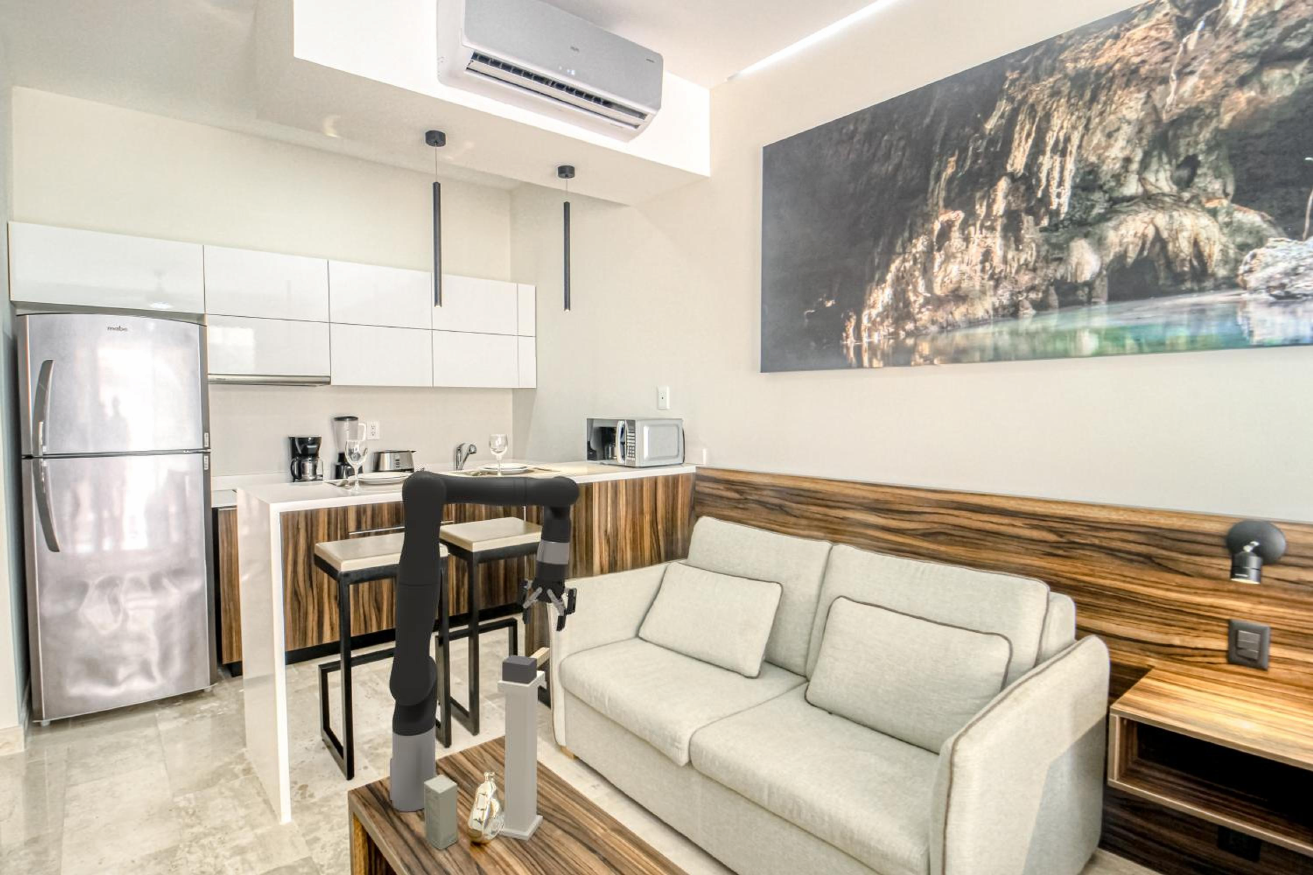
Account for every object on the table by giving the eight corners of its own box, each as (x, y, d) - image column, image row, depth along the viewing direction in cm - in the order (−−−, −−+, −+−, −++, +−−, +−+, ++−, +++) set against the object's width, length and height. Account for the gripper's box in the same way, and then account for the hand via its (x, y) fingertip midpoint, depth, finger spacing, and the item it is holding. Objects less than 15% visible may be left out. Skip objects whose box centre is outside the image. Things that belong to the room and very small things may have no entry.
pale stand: (526, 841, 138) (528, 686, 136) (496, 835, 139) (497, 682, 138) (543, 818, 145) (545, 671, 144) (514, 813, 147) (515, 667, 145)
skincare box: (458, 841, 137) (459, 784, 137) (439, 851, 134) (439, 793, 133) (442, 828, 142) (442, 772, 141) (423, 838, 138) (423, 781, 138)
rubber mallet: (528, 684, 137) (528, 665, 137) (502, 680, 138) (502, 661, 138) (558, 657, 151) (558, 640, 151) (534, 654, 153) (534, 637, 153)
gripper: (518, 555, 157) (508, 624, 156) (573, 566, 153) (564, 636, 153) (532, 553, 164) (523, 618, 164) (585, 562, 160) (576, 629, 160)
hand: (542, 627), depth 158 cm, fingers open, 8 cm apart
